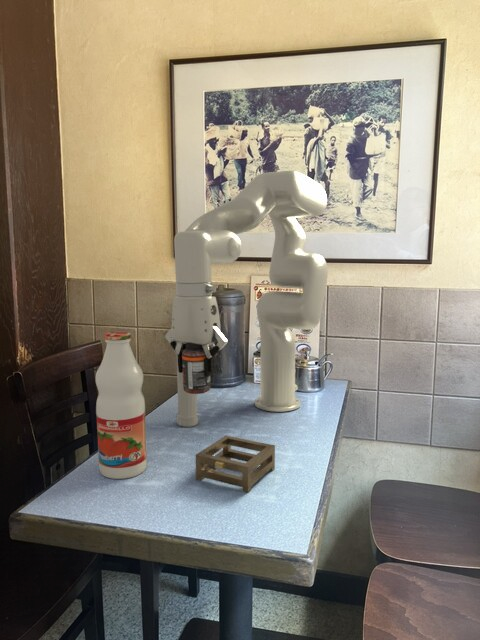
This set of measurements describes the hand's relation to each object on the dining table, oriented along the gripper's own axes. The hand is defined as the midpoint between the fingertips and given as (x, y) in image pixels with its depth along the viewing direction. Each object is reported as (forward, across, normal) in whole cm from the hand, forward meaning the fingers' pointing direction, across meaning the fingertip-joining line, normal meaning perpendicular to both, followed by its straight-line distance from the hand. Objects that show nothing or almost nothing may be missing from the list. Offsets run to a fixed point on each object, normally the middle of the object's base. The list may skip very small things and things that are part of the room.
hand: (196, 372), depth 114 cm
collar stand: (+17, -14, +8) cm, 23 cm away
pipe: (+18, +11, -11) cm, 24 cm away
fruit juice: (+17, +7, +17) cm, 25 cm away
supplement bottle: (+4, 0, 0) cm, 4 cm away
